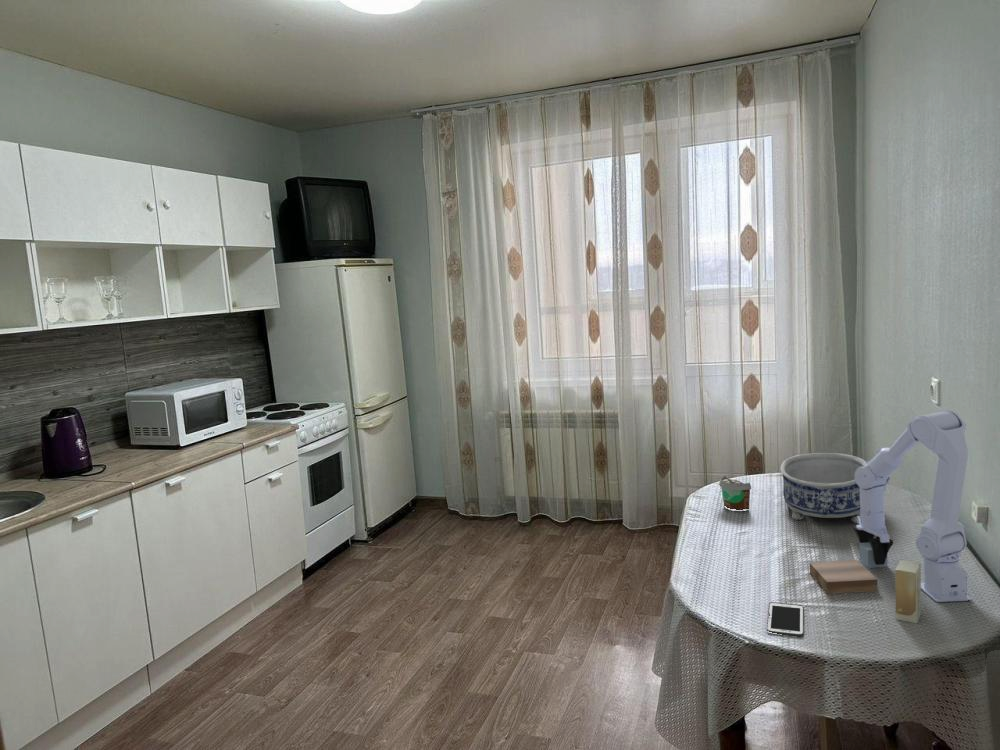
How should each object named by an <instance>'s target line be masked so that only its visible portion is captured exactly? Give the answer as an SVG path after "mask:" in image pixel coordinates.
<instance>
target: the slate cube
mask: <svg viewBox="0 0 1000 750" xmlns="http://www.w3.org/2000/svg"><path fill="white" fill-rule="evenodd" d="M858 546H859V561H860V562H861V564H862V563H863V566H864V565H865V566H864V567H866V568H868V569H869V568H887V567H888V556H887V557H886V560H885V564H881V565H876V564H875V561H874V555H873V550H872V547H871V544H870V542H868V543H860V542H858Z"/></svg>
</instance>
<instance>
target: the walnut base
mask: <svg viewBox="0 0 1000 750" xmlns="http://www.w3.org/2000/svg"><path fill="white" fill-rule="evenodd" d="M809 574H810V575H811V577H812V578H813V579H816V580H817V581H816V580H815V581H816V582H817V583H818V585H819V586H820V587H821V586H822V587H823V588H824V589H825V590H824V589H823V588H822V587H821V588H822V589H823V590H824V591H825V593H827V594H842V593H843V594H844V593H861V592H862V593H863V592H865V593H866V592H878V588H879V586H878V584H879V583H878V578H876V576H874V574H872V573H871V572H870V570H868V569H867V567H866V566H864V565H862V563H860V562H859V561H858V560H857V559H850V560H848V559H847V560H829V561H815V562H814V561H811V562H809Z"/></svg>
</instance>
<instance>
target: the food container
mask: <svg viewBox="0 0 1000 750" xmlns="http://www.w3.org/2000/svg"><path fill="white" fill-rule="evenodd" d="M718 485H719V487H720V488H721V493H722V501H723V507H724V506H726V507H727V508H730V509H736V510H743V509H749V510H750V497H751V490H752V485H751V482H746V483H744V482H741V481H739V480H736V479H730V478H727V475H723V476H722V477H720V479H719V484H718Z"/></svg>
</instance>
